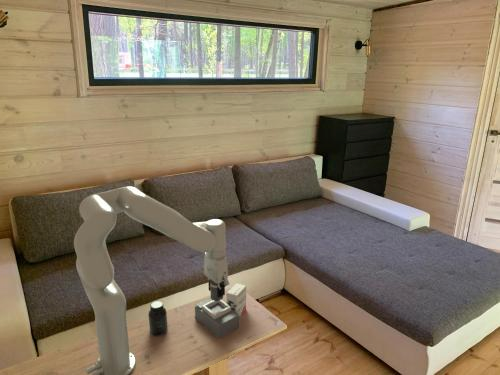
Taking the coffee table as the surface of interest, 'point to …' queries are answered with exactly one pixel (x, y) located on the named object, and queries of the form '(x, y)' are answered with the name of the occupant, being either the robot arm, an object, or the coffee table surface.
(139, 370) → the coffee table surface
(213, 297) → the lens
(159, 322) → the supplement bottle
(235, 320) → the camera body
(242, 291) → the ink box
